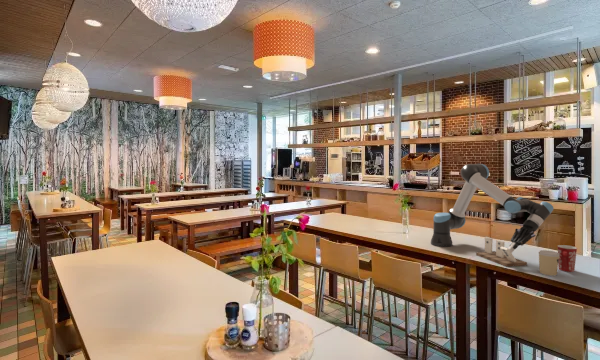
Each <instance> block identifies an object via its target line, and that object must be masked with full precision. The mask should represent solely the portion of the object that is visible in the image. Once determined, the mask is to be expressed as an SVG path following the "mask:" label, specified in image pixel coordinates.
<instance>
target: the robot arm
mask: <svg viewBox="0 0 600 360" xmlns="http://www.w3.org/2000/svg"><path fill="white" fill-rule="evenodd" d="M460 176H461V178H462V179H463V180H464V181H465V182H464V183H463V184H464V185H463V186H462V189H461V190H460V193H459V195H458V197H457V198H456V201H455V204H454V205H453V207H452V208H450V209H449V210H448V212H437V213H435V214H434V215H433V220H432V221H433V231H432V232H433V234H432V235H431V236H432V237H431V240H430V244H431V245H432V246H435V247H442V248H443V247H445V248H448V247H452V246H453V240H452V237H451V230H455V229H460V228H462V227H464V225H465V224H466V214H465V213H466V211H467V209H468V207H469V204H470V203H471V200H472V199H473V196H474V195H475V193H476V190H477V189H478V190H480V191H481V192H483V193H485V194H486V195H488V196H489V197H490V198H492V199H493V200H495V201H496V202H497V203H499V204H500V205H501V206H503V207H504V210H505V211H506V212H507V213H509V214H510V213H511V214H518V213H523V212H527V213H529V214H530V215H529V216H528V217H527V219H526V220H525V221H524V222H523V224H522V226H521V227H520V228H515V230H514V233H513V235H512V237H511V238H510V241H511V244H510V245H509V246H508V249H509V250H510V252H511V253H512V254H513V252H514V251H515V250H516V249H517V248H518V247H519V246H521V247H522V246H524V245H525V244H526V243H527V242H529V241H530V240H531V239H533V238H534V237H536V234H535V232H537V231H538V229H539V227H540V226H541V225H542V224H543V223H544V222H545V220H547V218H549V216H550V215H551V214H552V212H553V211H554V209H555V208H554V206H553V205H552V204H551V203H550V202H548V201H541V202H540V203H539V202H536V201H533V200H530V199H528V198H526V197H523V196H518V197H517V198H514V197H513V196H511V195H510V194H509V193H508V192H505V191H504V190H503V189H501V188H500V187H499V186H497V185H495V184H494V183H493V182H491V181H490V180H488V177H489V176H490V170H489V168H488V166H487V165H485V164H483V163H467V164H465V165H463V166H462V168H461V169H460Z"/></svg>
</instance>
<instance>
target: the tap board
mask: <svg viewBox="0 0 600 360" xmlns="http://www.w3.org/2000/svg"><path fill="white" fill-rule="evenodd" d="M475 255H476V256H478V257H480V258H483V259H485V260H488V261H491V262H493V263H496V264H498V265H501V266H504V267H506V268H509V267H523V266H527V265H528V262H527V261H524V260H521V259H518V258H515V257H514V258H515V259H516V262H512V261H509V260H508V259H507V257H506V256H505V254H504V258H501V257H498V256H496V250H492V254H490V253H487V252H485V251H479V252H478V251H477V252H475Z"/></svg>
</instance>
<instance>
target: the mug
mask: <svg viewBox="0 0 600 360" xmlns="http://www.w3.org/2000/svg"><path fill="white" fill-rule="evenodd" d="M556 248H557V253H559V261H558V270H559V271H563V272H567V273H573V272H575V268H576V261H577V260H576V259H577V253H578V252H577V251H578V248H577V247H576V246H572V245H565V244H563V245H562V244H561V245H560V244H559V245H557V247H556Z"/></svg>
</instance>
